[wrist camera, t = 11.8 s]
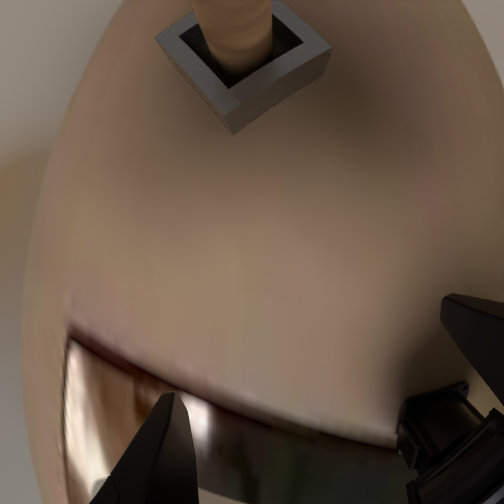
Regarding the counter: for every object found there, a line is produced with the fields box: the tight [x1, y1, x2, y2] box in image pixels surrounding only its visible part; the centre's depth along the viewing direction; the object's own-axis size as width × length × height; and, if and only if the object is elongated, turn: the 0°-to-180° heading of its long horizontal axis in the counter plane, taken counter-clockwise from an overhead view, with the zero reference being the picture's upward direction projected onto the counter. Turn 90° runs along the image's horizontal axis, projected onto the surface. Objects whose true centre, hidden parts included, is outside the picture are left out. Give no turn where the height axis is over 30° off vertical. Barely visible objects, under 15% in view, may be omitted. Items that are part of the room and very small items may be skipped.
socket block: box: [154, 0, 332, 134], centre depth 17 cm, size 8×8×4 cm
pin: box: [189, 0, 273, 87], centre depth 13 cm, size 5×5×13 cm
